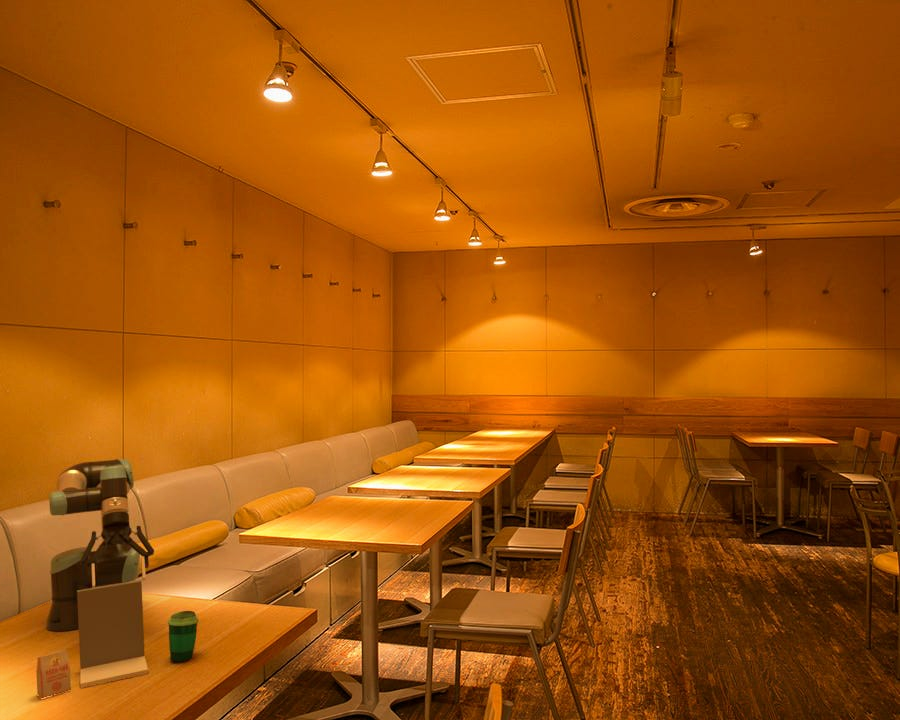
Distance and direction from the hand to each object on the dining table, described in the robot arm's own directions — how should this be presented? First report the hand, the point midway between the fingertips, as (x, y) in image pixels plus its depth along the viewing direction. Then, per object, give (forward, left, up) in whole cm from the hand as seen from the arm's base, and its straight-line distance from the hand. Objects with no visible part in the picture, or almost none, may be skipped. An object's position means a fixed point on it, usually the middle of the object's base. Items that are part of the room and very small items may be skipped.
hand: (119, 582), depth 216 cm
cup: (+21, +15, -18) cm, 32 cm away
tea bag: (+26, -17, -18) cm, 36 cm away
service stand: (+21, -3, -18) cm, 28 cm away
